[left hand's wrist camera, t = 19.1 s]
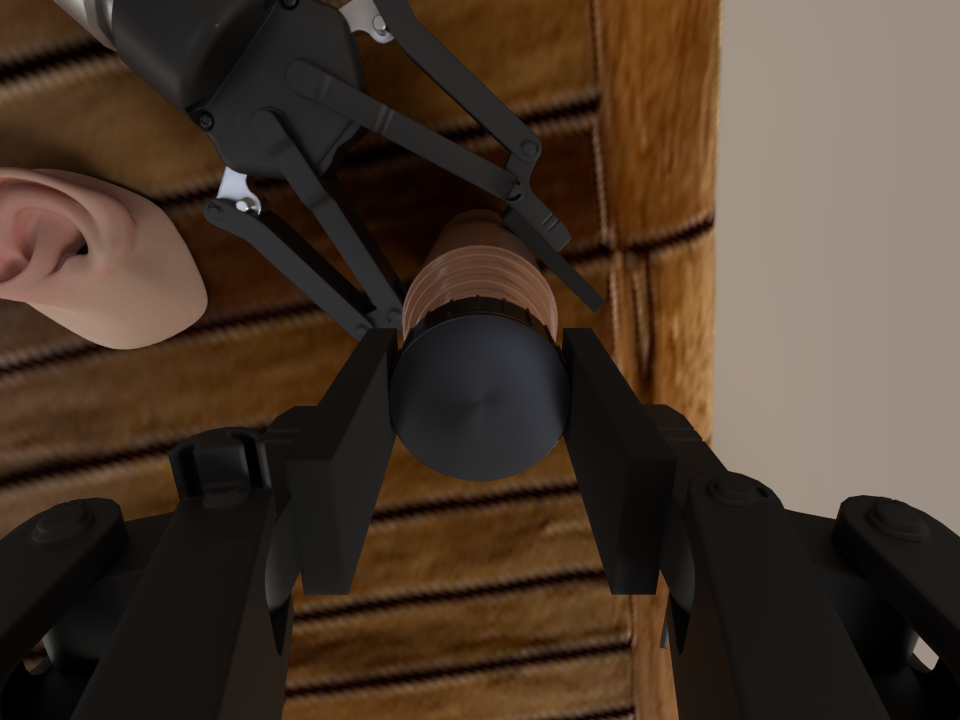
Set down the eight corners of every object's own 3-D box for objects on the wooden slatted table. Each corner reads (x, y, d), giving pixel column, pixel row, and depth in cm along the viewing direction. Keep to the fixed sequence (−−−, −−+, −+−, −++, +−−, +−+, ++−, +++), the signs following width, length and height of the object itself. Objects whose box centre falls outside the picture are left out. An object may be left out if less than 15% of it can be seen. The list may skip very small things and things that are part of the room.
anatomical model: (206, 296, 29) (88, 414, 31) (237, 281, 32) (130, 387, 35) (-9, 96, 25) (-121, 249, 28) (54, 104, 29) (-51, 239, 32)
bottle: (541, 273, 32) (626, 429, 14) (463, 315, 34) (442, 516, 15) (497, 190, 31) (526, 239, 12) (417, 238, 32) (324, 353, 13)
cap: (423, 462, 15) (416, 499, 14) (374, 317, 14) (359, 339, 12) (576, 428, 15) (588, 462, 13) (544, 274, 13) (553, 291, 12)
